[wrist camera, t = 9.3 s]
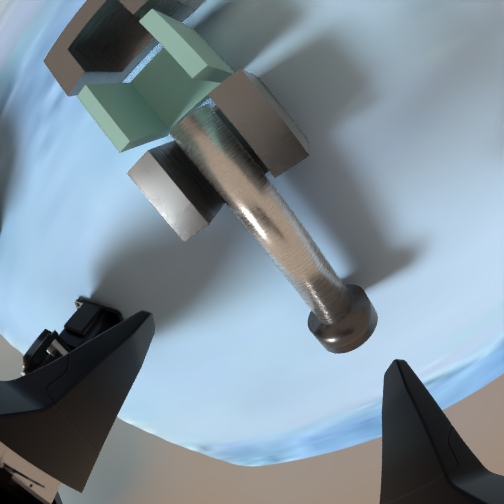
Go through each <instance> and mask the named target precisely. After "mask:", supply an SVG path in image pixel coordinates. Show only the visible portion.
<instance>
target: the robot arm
mask: <svg viewBox="0 0 504 504" xmlns="http://www.w3.org/2000/svg"><path fill="white" fill-rule="evenodd" d="M75 305H76V307H77V311H76V312H75V313H74V314H73V316H72V317H71V318H70V319H69V320H68V321H67V323H66V324H65V325H64V330H63V331H62V332H61V333H60V334H59V335H58V333H57V332H56V331H55V330H54V331H53V332H51V331H48V330H47V329H45V330H44V331H43V332H42V333H41V334H40V335H39V337H38V338H37V339H36V340H35V341H34V343H33V344H32V345H31V347H30V348H29V349H28V351H27V352H26V353H25V355H24V356H23V363H24V364H23V366H22V370H21V372H20V375H21V376H22V377H20V378H17V379H15V380H10V381H0V504H63V503H62V501H61V498H60V496H59V493H58V489H59V487H60V484H61V483H63V484H65V485H67V486H69V487H71V488H73V489H75V490H77V491H79V492H81V493H82V491H83V489H84V487H85V485H86V482H87V480H88V478H89V476H90V473H91V471H92V469H93V466H94V464H95V462H96V460H97V458H98V455H99V452H100V451H101V449H102V446H103V444H104V442H105V440H106V438H107V436H108V433H109V431H110V429H111V427H112V425H113V423H114V421H115V419H116V417H117V415H118V413H119V411H120V409H121V407H122V405H123V403H124V401H125V399H126V397H127V395H128V393H129V391H130V389H131V387H132V385H133V383H134V381H135V379H136V377H137V375H138V373H139V371H140V369H141V367H142V364H143V362H144V359H145V356H146V354H147V351H148V348H149V346H150V343H151V341H152V338H153V335H154V332H155V326H154V320H153V315H152V313H150V312H147V311H144V310H142V311H139V312H138V313H136V314H134V315H132V316H131V317H129V318H127V319H126V320H124V321H123V320H122V317H121V314H120V313H119V312H118V311H116V310H113V309H109V308H106V307H102V306H99V305H96V304H92V303H89V302H86V301H83V300H80V299H77V300H76V301H75ZM46 350H48V351H49V352H50V354H49V353H48V352H47V351H46ZM380 504H504V476H502V475H498V474H495V473H492V472H490V471H489V470H487V469H486V468H485V467H484V466H483V465H482V463H481V462H480V461H479V460H478V458H477V457H476V456H475V455H474V454H473V453H472V451H471V450H470V449H469V447H468V446H467V445H466V444H465V442H464V441H463V440H462V438H461V437H460V436H459V434H458V433H457V431H456V430H455V428H454V427H453V426H452V425H451V423H450V421H449V420H448V418H447V417H446V415H445V414H444V413H443V411H442V410H441V408H440V407H439V406H438V404H437V403H436V401H435V400H434V399H433V397H432V396H431V394H430V393H429V392H428V390H427V389H426V388H425V386H424V385H423V383H422V382H421V381H420V379H419V378H418V377H417V375H416V374H415V373H414V371H413V370H412V369H411V367H410V366H409V365H408V364H407V362H406V361H405V360H400V359H395V360H394V361H393V362H392V364H391V365H390V366H389V368H388V369H387V371H386V372H385V375H384V386H383V403H382V477H381V494H380Z"/></svg>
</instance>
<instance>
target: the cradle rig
mask: <svg viewBox="0 0 504 504" xmlns="http://www.w3.org/2000/svg"><path fill="white" fill-rule="evenodd" d="M151 9H154V10H156V11H159V12H161V13H163V14H165V15H167V16H169V17H171V18H173V19H175V20H177V21H179V22H182V21H183V20H185V19H186V18H187V17H188V16H189V15H190V14H192V13H193V12H194V10H193V9H192V8H191V7H189V6H188V5H187V4H186V3H185V2H184V1H183V0H87V1H86V2H85V3H84V4H83V6H82V7H81V8H80V9H79V11H78V12H77V13H76V14H75V16H74V17H73V18H72V20H71V21H70V22H69V24H68V25H67V26H66V28H65V29H64V30H63V32H62V33H61V35H60V36H59V38H58V39H57V41H56V42H55V44H54V45H53V47H52V48H51V50H50V51H49V53H48V54H47V56H46V58H45V59H44V63H45V64H46V66H47V67H48V69H49V70H50V72H51V73H52V74H53V76H54V77H55V79H56V80H57V82H58V83H59V84H60V86H61V87H62V89H63V90H64V91H65V93H66V94H67V96H74V95H78V94H79V93H80V91H81V90H82V89H83V87H84V86H85V85H87V84H106V83H122V81H123V80H124V79H125V78H126V77H127V76H128V74H129V73H130V72H131V71H132V70H133V69H134V68H135V67H136V66H137V65H138V63H139V62H140V61H141V60H142V59H143V58H144V57H145V56H146V55H147V54H148V53H149V52H150V51H151V50H152V49H153V48H154V47H155V46H156V45H157V44H158V43H159V42H158V41H157V40H156V38H155V37H154V36H153V35H152V34H151V33H150V32H149V31H148V30H147V29H146V28H145V27H144V26H143V25H142V24H141V23H140V22H139V21H140V20H141V19H142V18H143V17H144V16H145V15H146V14H147V13H148V12H149V11H150V10H151ZM208 95H209V97H210V98H211V99H212V100H213V101H214V102H215V104H216V105H217V106H216V107H214V108H213V110H214V112H215V113H216V114H217V115H218V116H219V118H220V119H221V120H222V121H223V122H224V124H225V125H226V126H227V127H228V128H229V130H230V131H231V132H232V133H233V135H234V136H235V137H236V138H237V140H238V141H239V142H240V143H241V145H242V146H243V147H244V148H245V150H246V151H247V152H248V153H249V155H250V156H251V157H252V158H253V160H254V161H255V162H256V164H257V165H258V166H259V167H260V169H261V170H262V171H263V173H264V174H265V173H266V172H268V171H270V172H271V173H272V175H273V176H274V177H275V178H276V177H277V176H279V175H280V174H282V173H283V172H285V171H286V170H288V169H289V168H291V167H292V166H294V165H295V164H297V163H298V162H300V161H301V160H303V159H304V158H306V157H307V156H309V143H308V140H307V139H306V138H305V136H304V135H303V134H302V132H301V131H300V130H299V128H298V127H297V126H296V124H295V123H294V122H293V120H292V119H291V118H290V116H289V115H288V114H287V112H286V111H285V110H284V109H283V107H282V106H281V105H280V104H279V102H278V101H277V100H276V99H275V97H274V96H273V95H272V94H271V92H270V91H269V90H268V89H267V88H266V86H265V85H264V84H263V83H262V82H261V81H260V79H259V78H258V77H256V76H254V75H252V74H250V73H248V72H247V71H245V70H243V69H241V68H240V69H238V70H237V71H236V72H234V73H233V74H232V75H231V76H229V77H228V78H227V79H226V80H224V81H223V82H222V83H221V84H219V85H218V86H217V87H216V88H214V89H213V90H212V91H211V92H210V93H208ZM127 174H128V175H129V177H130V178H131V179H132V180H133V182H134V183H135V184H136V185H137V186H138V188H139V189H140V190H141V191H142V193H143V194H144V195H145V196H146V197H147V199H148V200H149V201H150V202H151V203H152V205H153V206H154V207H155V208H156V209H157V211H158V212H159V213H160V214H161V215H162V217H163V218H164V219H165V220H166V221H167V223H168V224H169V225H170V226H171V227H172V228H173V230H174V231H175V232H176V233H177V234H178V235H179V237H180V238H181V239H182V240H183V241H184V242H185V241H187V240H188V239H190V238H191V237H192V236H194V235H195V234H196V233H198V232H199V231H200V230H202V229H203V228H204V227H206V226H207V225H209V223H210V222H211V221H212V219H213V218H214V217H215V216H216V214H217V213H218V212H219V210H220V209H221V208H222V206H223V205H224V204H225V201H224V200H223V199H222V198H221V197H220V195H219V194H218V193H217V192H216V190H215V189H214V188H213V187H212V185H211V184H210V183H209V182H208V181H207V179H206V178H205V177H204V176H203V174H202V173H201V172H200V171H199V170H198V168H197V167H196V166H195V165H194V163H193V162H192V161H191V160H190V159H189V157H188V156H187V155H186V154H185V153H184V151H183V150H182V149H181V148H180V146H179V145H178V144H177V143H176V142H175V141H172V142H169V143H166V144H164V145H161V146H158V147H156V148H153V149H150V150H148V151H147V152H146V153H145V154H144V155H143V156H142V157H141V158H140V159H139V160H138V161H137V163H136V164H135V165H134V166H133V167H132V168H131V169H130V170H129V171H128V173H127Z"/></svg>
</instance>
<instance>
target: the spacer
mask: <svg viewBox="0 0 504 504" xmlns="http://www.w3.org/2000/svg"><path fill="white" fill-rule="evenodd" d="M139 22H140V23H141V24H142V25H143V26H144V27H145V28H146V29H147V30H148V31H149V32H150V33H151V34H152V35H153V36H154V37H155V38H156V40H157V41H158V42H159V43H160V44H161V45H162V46H163V47H164V48H163V49H162V50H161V51H160V52H159V53H158V54H157V55H156V56H155V57H154V58H153V59H152V60H151V61H150V62H149V63H148V64H147V65H146V66H145V67H144V68H143V69H142V71H141V72H140V73H139V74H138V75H137V76H136V77H135V78H134V79H133V80H132V81H131V83H106V84H87V85H85V86H84V87H83V89H82V90H81V91H80V93H79V94H78V96H77V98H78V99H79V100H80V102H81V103H82V105H83V106H84V107H85V109H86V110H87V111H88V112H89V114H90V115H91V116H92V118H93V119H94V120H95V122H96V123H97V124H98V126H99V127H100V128H101V129H102V131H103V132H104V133H105V135H106V136H107V137H108V139H109V140H110V141H111V142H112V144H113V145H114V146H115V147H116V149H117V150H118V151H119V153H121V152H123V151H126V150H129V149H131V148H134V147H137V146H140V145H143V144H145V143H148V142H151V141H154V140H157V139H160V138H163V137H166V136H167V135H169V134H170V133H171V131H172V130H173V129H174V127H175V126H176V125H177V124H178V123H179V122H180V121H181V120H183V119H184V118H185V117H186V116H188V115H189V114H190V113H192V112H193V111H194V110H196V109H197V108H198V107H199V106H200V105H201V104H203V103H204V102H205V101H206V100H207V99H208V98H210V97H209V95H208V93H210V92H211V91H212V90H213V89H214V88H216V87H217V86H218V85H219V84H221V83H222V82H223V81H224V80H226V79H227V78H228V77H229V76H231V75H232V74H233V73H234V71H233V70H232V69H231V68H230V67H229V66H228V65H227V64H226V62H225V61H224V60H223V59H222V58H221V57H220V56H219V55H218V54H217V53H216V52H215V51H214V49H213V48H212V47H211V46H210V45H209V44H208V43H207V42H206V41H205V40H204V39H203V38H202V37H201V36H200V35H199V34H198V33H197V32H196V31H195V30H194V29H192V28H191V27H189V26H187V25H185V24H183V23H181V22H179V21H177V20H175V19H173V18H171V17H169V16H167V15H165V14H163V13H161V12H159V11H156V10H154V9H151V10H150V11H149V12H148V13H147V14H146V15H145V16H144V17H143V18H142V19H141V20H140V21H139Z"/></svg>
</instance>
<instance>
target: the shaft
mask: <svg viewBox="0 0 504 504" xmlns="http://www.w3.org/2000/svg"><path fill="white" fill-rule="evenodd" d="M170 136H171V137H172V138H173V139H174V140H175V142H176V143H177V144H178V145H179V146H180V148H181V149H182V150H183V151H184V153H185V154H186V155H187V156H188V157H189V159H190V160H191V161H192V162H193V163H194V165H195V166H196V167H197V168H198V170H199V171H200V172H201V173H202V174H203V176H204V177H205V178H206V179H207V181H208V182H209V183H210V184H211V185H212V187H213V188H214V189H215V190H216V192H217V193H218V194H219V195H220V197H221V198H222V199H223V200H224V201H225V203H226V204H227V205H228V206H229V208H230V209H231V210H232V211H233V213H234V214H235V215H236V216H237V217H238V219H239V220H240V221H241V222H242V224H243V225H244V226H245V227H246V229H247V230H248V231H249V232H250V234H251V235H252V236H253V237H254V239H255V240H256V241H257V242H258V244H259V245H260V246H261V247H262V249H263V250H264V251H265V252H266V253H267V255H268V256H269V257H270V258H271V260H272V261H273V262H274V263H275V265H276V266H277V267H278V268H279V270H280V271H281V272H282V273H283V275H284V276H285V277H286V279H287V280H288V281H289V282H290V284H291V285H292V286H293V287H294V289H295V290H296V291H297V292H298V294H299V295H300V296H301V297H302V299H303V300H304V301H305V302H306V304H307V305H308V306H309V307H310V309H311V312H310V315H309V318H308V327H309V330H310V331H311V332H312V333H313V334H314V336H315V337H316V338H317V339H318V340H319V342H320V343H321V344H322V345H323V346H324V348H325V349H326V350H328V351H329V352H332V353H346V352H349V351H352V350H354V349H356V348H358V347H359V346H361V345H362V344H363V343H364V342H366V341H367V340H368V339H369V337H370V336H371V335H372V333H373V332H374V330H375V328H376V325H377V321H378V316H377V312H376V310H375V309H374V307H373V305H372V303H371V302H370V300H369V298H368V297H367V295H366V293H365V292H364V290H363V289H362V288H361V287H359V286H356V285H345V286H344V284H343V283H342V281H341V280H340V278H339V277H338V275H337V274H336V273H335V271H334V270H333V268H332V267H331V265H330V264H329V262H328V261H327V259H326V258H325V256H324V255H323V253H322V252H321V251H320V249H319V248H318V246H317V245H316V243H315V242H314V241H313V239H312V238H311V236H310V235H309V233H308V232H307V231H306V229H305V228H304V226H303V225H302V224H301V222H300V221H299V219H298V218H297V217H296V215H295V214H294V213H293V211H292V210H291V209H290V207H289V206H288V204H287V203H286V202H285V200H284V199H283V198H282V196H281V195H280V194H279V192H278V191H277V190H276V188H275V187H274V186H273V184H272V183H271V182H270V180H269V179H268V178H267V176H266V175H265V174H264V173H263V171H262V170H261V169H260V167H259V166H258V165H257V164H256V162H255V161H254V160H253V158H252V157H251V156H250V155H249V153H248V152H247V151H246V150H245V148H244V147H243V146H242V145H241V143H240V142H239V141H238V140H237V138H236V137H235V136H234V135H233V133H232V132H231V131H230V130H229V128H228V127H227V126H226V125H225V124H224V122H223V121H222V120H221V119H220V118H219V116H218V115H217V114H216V113H215V112H214V110H213V109H212V108H211V107H210V106H209V105H204V106H202V107H200V108H198V109H196V110H195V111H193V112H192V113H190V114H189V115H188V116H186V117H185V118H184V119H183V120H181V121H180V122H179V123H178V124H177V125H176V126H175V127H174V129H173V130H172V131H171V133H170Z"/></svg>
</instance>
